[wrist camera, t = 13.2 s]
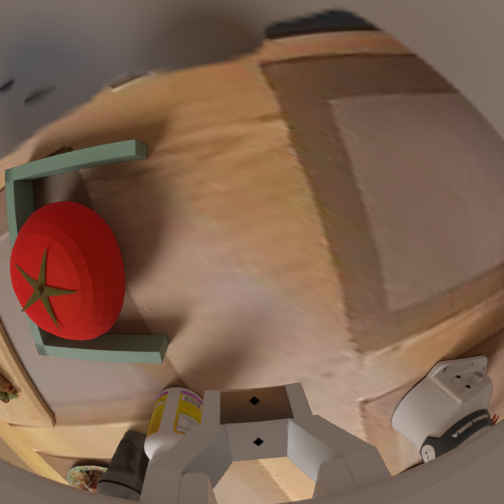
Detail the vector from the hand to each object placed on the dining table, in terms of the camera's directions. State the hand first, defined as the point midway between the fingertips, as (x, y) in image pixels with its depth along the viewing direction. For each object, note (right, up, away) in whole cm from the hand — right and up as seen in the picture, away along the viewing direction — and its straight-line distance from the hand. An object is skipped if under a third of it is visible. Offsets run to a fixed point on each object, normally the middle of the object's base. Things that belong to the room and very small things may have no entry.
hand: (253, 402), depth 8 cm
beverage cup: (-18, -25, +28) cm, 42 cm away
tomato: (-19, +4, +22) cm, 29 cm away
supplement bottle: (-10, -16, +27) cm, 32 cm away
